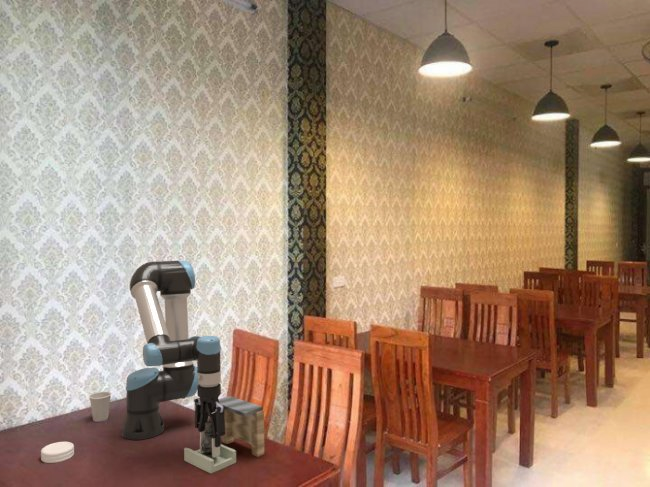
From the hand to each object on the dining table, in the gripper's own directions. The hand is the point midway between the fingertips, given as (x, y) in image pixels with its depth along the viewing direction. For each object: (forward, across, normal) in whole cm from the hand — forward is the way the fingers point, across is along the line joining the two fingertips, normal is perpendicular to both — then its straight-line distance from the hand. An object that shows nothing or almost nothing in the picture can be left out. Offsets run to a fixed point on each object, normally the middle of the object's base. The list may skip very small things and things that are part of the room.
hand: (209, 453), depth 171 cm
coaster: (+3, -43, -31) cm, 53 cm away
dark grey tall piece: (+1, 0, 0) cm, 1 cm away
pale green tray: (+3, 0, 0) cm, 3 cm away
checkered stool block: (+3, 0, +12) cm, 12 cm away
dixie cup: (+3, -66, -5) cm, 66 cm away
